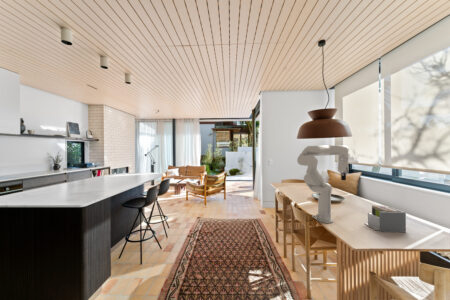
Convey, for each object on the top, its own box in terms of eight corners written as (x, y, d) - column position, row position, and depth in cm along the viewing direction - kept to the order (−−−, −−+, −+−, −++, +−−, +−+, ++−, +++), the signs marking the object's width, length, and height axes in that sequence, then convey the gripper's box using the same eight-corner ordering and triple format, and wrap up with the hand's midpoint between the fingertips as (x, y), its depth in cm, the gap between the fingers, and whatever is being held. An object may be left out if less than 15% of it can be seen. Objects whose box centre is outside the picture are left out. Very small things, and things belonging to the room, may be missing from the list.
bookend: (376, 230, 140) (375, 218, 140) (364, 224, 152) (364, 212, 152) (381, 230, 139) (381, 218, 139) (369, 224, 152) (369, 212, 152)
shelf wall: (380, 231, 138) (380, 212, 138) (367, 224, 152) (367, 206, 152) (405, 232, 137) (405, 212, 137) (390, 224, 151) (390, 206, 151)
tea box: (400, 231, 139) (400, 210, 139) (385, 231, 139) (385, 210, 139) (384, 223, 154) (384, 205, 154) (371, 223, 154) (371, 204, 154)
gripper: (334, 159, 179) (335, 178, 179) (343, 160, 164) (343, 181, 164) (343, 159, 179) (343, 178, 179) (352, 160, 164) (352, 181, 164)
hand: (343, 180), depth 172 cm, fingers closed
